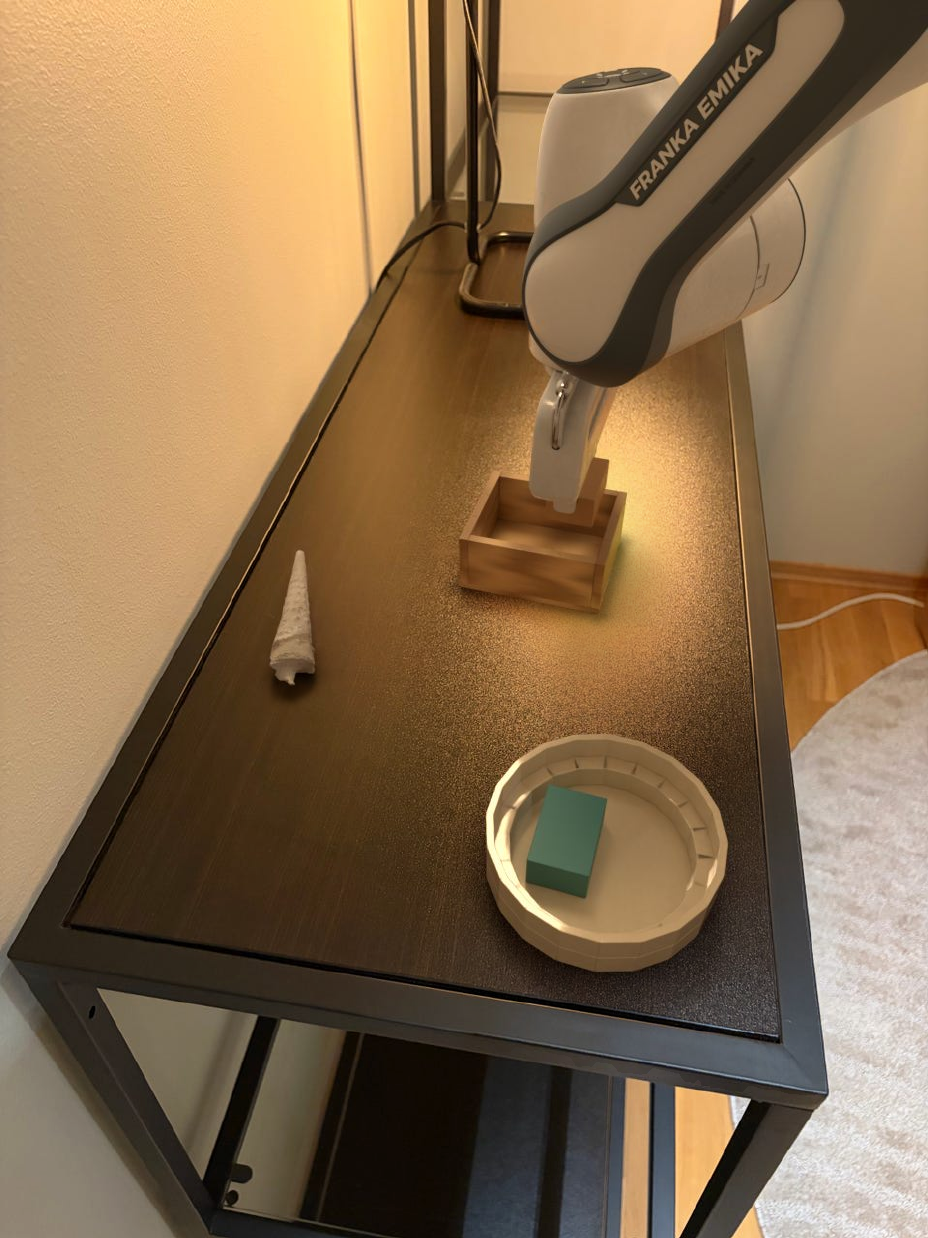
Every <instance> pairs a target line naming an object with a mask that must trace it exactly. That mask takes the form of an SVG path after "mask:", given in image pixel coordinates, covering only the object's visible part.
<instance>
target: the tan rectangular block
mask: <svg viewBox="0 0 928 1238" xmlns="http://www.w3.org/2000/svg"><path fill="white" fill-rule="evenodd" d="M609 468H610V459H607V458H601V457H596V456H595V457H593V459H592V461H591V464H590V467H589V469H588V472H587V475H586V478H585V480H584V483H583V486H582V488H581V491H580V494H579V498H578V503H577V506H576V509H575V511H574V513H571V514H568V513H563V512H557V511H556V510H554V508H553V501H548V500H546V515H545V518H546V519H550V520H556V521H561V522H566V523H571V524H577V525H582V526H587V527H592V526H593V523H594V520H595V517H596V514H597V511H598V508H599V505H600V503H601V500H602V497H603V494H604V491H605V489H607V484H608V477H609V475H608V474H609Z"/></svg>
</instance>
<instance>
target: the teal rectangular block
mask: <svg viewBox="0 0 928 1238" xmlns="http://www.w3.org/2000/svg"><path fill="white" fill-rule="evenodd" d="M606 805H607V799H606V798H602V797H598V796H594V795H590V794H586V793H582V792H578V791H574V790H570V789H566V788H562V787H558V786H554V785H550V784H549V786H548V789H547V792H546V796H545V799H544V803H543V806H542V809H541V813H540V816H539V819H538V823H537V826H536V830H535V833H534V836H533V840H532V843H531V847H530V850H529V853H528V857H527V862H526V878H525V882H527V883H530V884H534V885H538V886H541V887H545V888H548V889H552V890H556V891H559V892H563V893H566V894H570V895H574V896H577V897H581V898H586V895H587V891H588V886H589V882H590V878H591V874H592V869H593V865H594V861H595V856H596V852H597V848H598V843H599V839H600V835H601V831H602V826H603V822H604V816H605V810H606Z"/></svg>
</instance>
